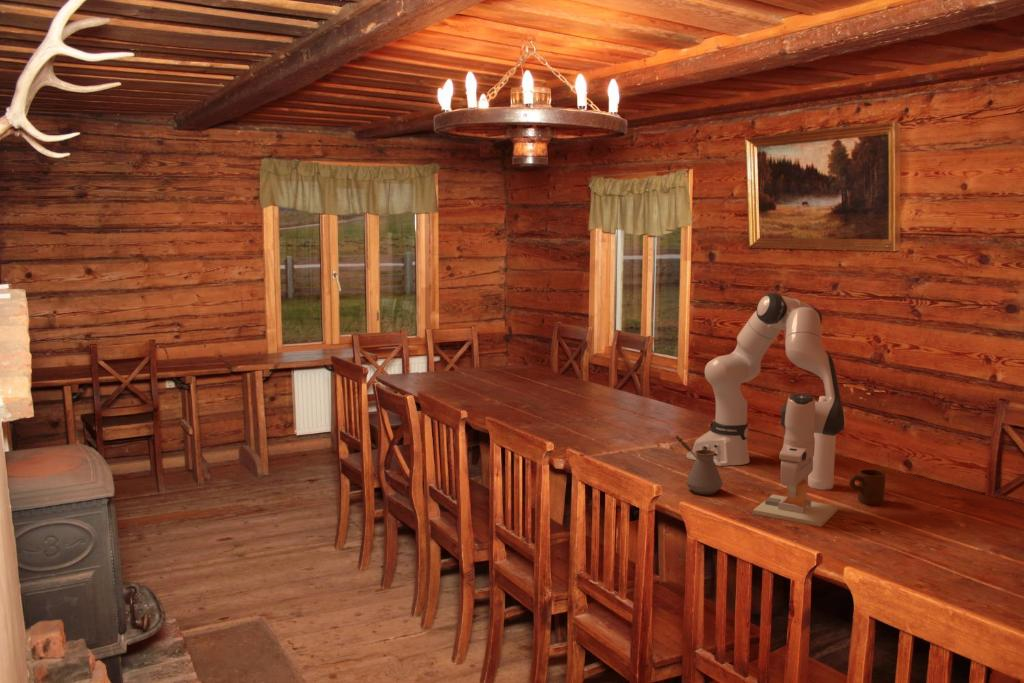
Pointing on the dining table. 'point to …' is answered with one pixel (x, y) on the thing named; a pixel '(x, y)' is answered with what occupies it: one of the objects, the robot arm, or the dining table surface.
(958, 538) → the dining table surface
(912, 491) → the dining table surface
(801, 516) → the mount deck
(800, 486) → the orange rectangular block
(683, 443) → the coffee pot
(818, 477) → the bottle
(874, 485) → the mug
